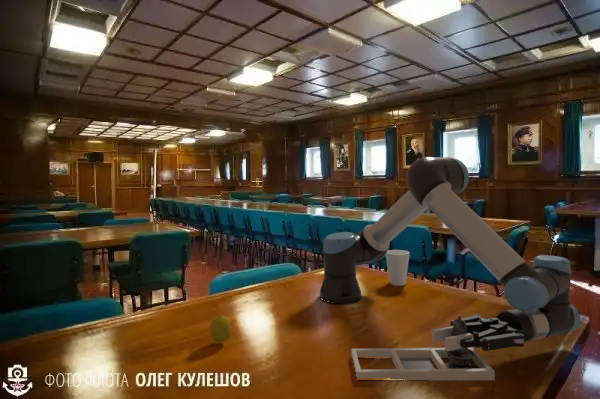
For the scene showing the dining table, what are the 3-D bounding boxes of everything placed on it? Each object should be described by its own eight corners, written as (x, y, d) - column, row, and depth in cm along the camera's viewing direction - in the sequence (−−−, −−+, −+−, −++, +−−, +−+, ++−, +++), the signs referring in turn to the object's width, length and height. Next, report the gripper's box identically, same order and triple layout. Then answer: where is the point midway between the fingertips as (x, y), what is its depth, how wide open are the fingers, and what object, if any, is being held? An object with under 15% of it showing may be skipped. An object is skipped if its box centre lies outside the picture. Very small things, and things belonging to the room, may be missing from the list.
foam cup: (383, 280, 149) (382, 250, 148) (404, 279, 149) (404, 249, 149) (390, 287, 139) (390, 255, 138) (413, 286, 140) (413, 254, 139)
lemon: (235, 340, 97) (234, 312, 96) (224, 349, 91) (223, 319, 91) (217, 338, 98) (216, 310, 98) (206, 347, 93) (205, 317, 93)
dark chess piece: (468, 360, 83) (468, 311, 82) (478, 374, 77) (478, 321, 76) (442, 360, 83) (442, 310, 82) (450, 374, 77) (450, 320, 77)
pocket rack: (356, 380, 76) (356, 371, 76) (351, 356, 86) (351, 348, 86) (494, 380, 75) (494, 370, 74) (472, 355, 85) (472, 347, 85)
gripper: (554, 356, 77) (467, 376, 70) (492, 326, 93) (416, 340, 86) (555, 322, 77) (467, 339, 70) (492, 298, 92) (416, 310, 86)
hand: (439, 340), depth 78 cm, fingers closed on dark chess piece, 4 cm apart
